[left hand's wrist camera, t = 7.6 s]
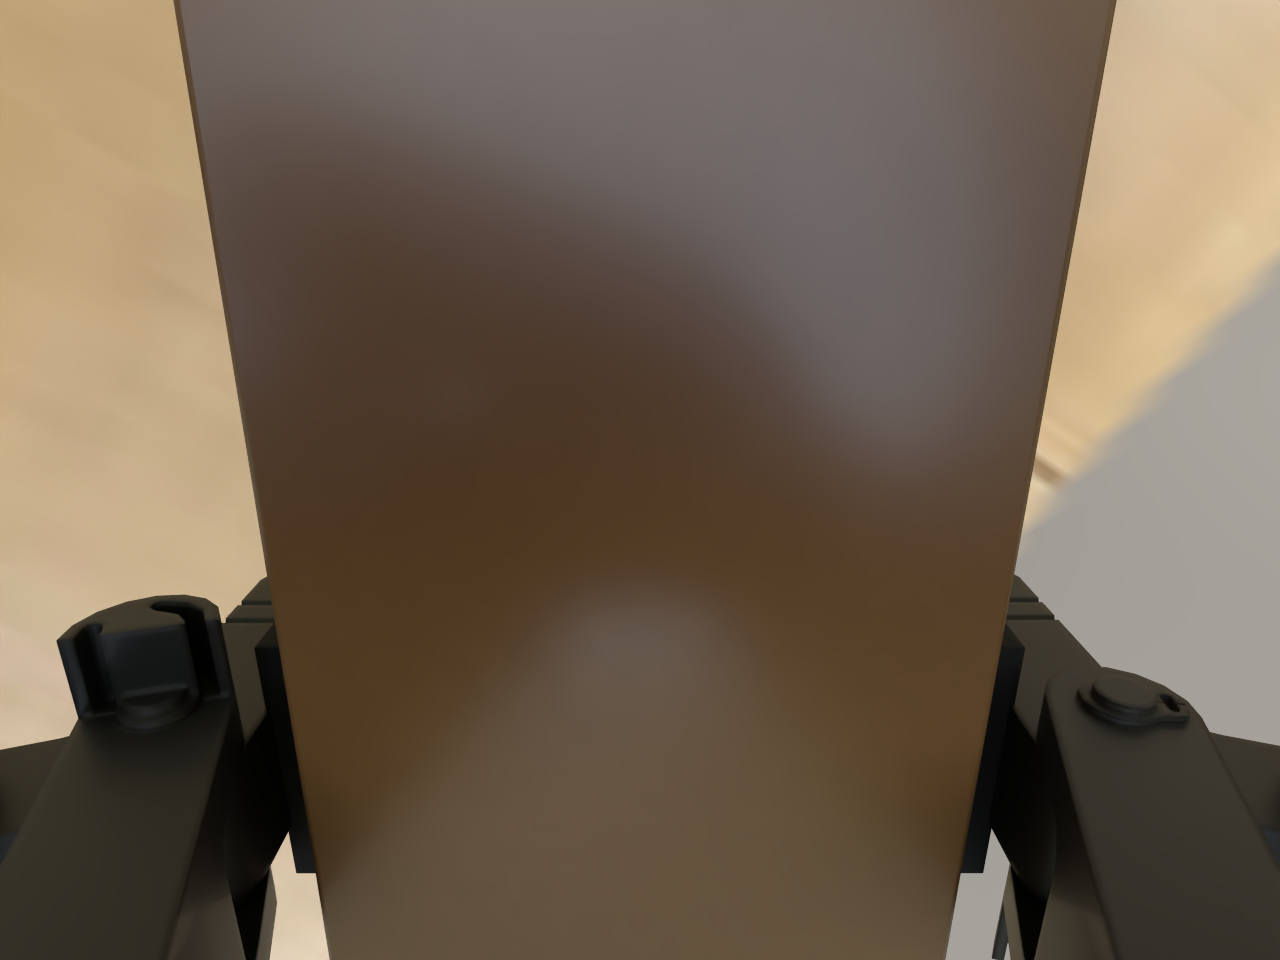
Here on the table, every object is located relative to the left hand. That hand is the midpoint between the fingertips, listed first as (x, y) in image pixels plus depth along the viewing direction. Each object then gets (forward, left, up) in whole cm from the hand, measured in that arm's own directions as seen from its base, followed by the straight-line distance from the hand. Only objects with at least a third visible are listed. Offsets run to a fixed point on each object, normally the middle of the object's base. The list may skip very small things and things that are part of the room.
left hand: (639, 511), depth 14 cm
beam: (+7, +21, -1) cm, 22 cm away
